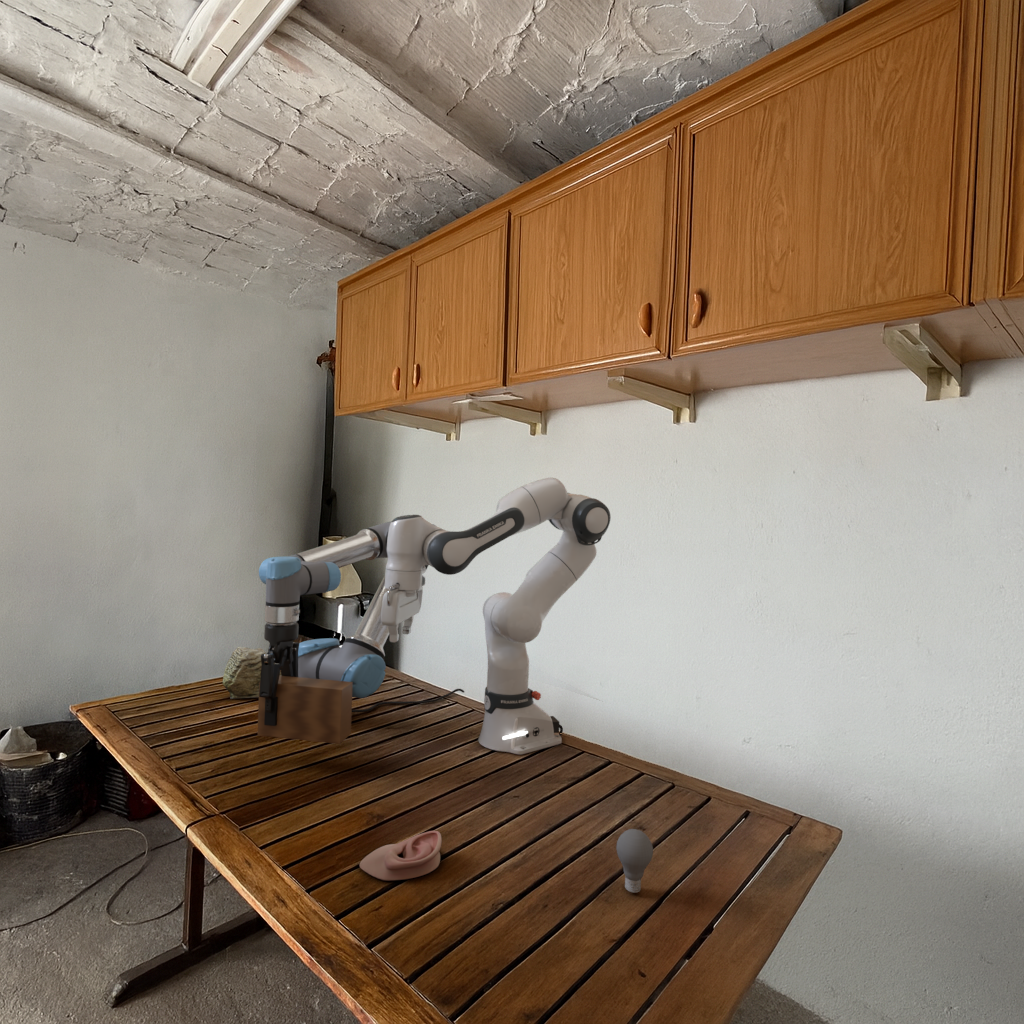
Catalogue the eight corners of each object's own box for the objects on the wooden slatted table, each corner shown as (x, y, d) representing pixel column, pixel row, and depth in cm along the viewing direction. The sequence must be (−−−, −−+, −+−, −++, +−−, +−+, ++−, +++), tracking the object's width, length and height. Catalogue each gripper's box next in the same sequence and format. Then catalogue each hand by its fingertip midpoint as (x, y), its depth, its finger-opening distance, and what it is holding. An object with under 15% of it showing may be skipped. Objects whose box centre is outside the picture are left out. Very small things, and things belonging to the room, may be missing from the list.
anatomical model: (352, 851, 106) (379, 818, 118) (351, 875, 106) (379, 839, 118) (427, 864, 104) (448, 829, 115) (426, 888, 104) (447, 850, 115)
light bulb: (610, 879, 108) (613, 822, 108) (644, 879, 109) (647, 822, 109) (619, 902, 102) (622, 840, 102) (655, 901, 103) (658, 840, 103)
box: (257, 735, 147) (259, 682, 147) (271, 725, 153) (273, 674, 153) (339, 744, 144) (341, 689, 144) (350, 734, 150) (352, 682, 150)
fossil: (218, 695, 195) (220, 647, 195) (278, 685, 208) (279, 640, 207) (228, 703, 189) (230, 653, 188) (289, 692, 201) (290, 645, 201)
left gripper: (275, 632, 139) (271, 736, 139) (315, 616, 158) (312, 708, 159) (243, 629, 140) (240, 732, 141) (287, 614, 159) (284, 705, 160)
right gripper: (402, 587, 143) (398, 648, 144) (427, 577, 164) (424, 630, 164) (375, 585, 144) (372, 645, 145) (404, 575, 165) (401, 628, 165)
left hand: (278, 719), depth 150 cm, fingers closed on box, 6 cm apart
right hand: (400, 637), depth 154 cm, fingers open, 8 cm apart
